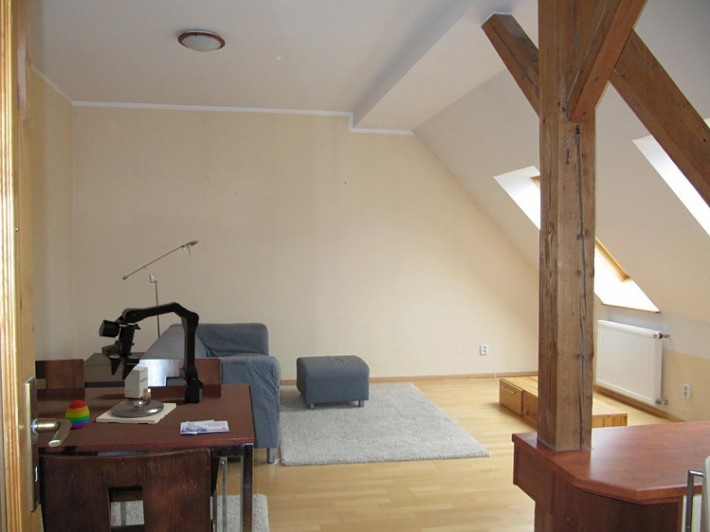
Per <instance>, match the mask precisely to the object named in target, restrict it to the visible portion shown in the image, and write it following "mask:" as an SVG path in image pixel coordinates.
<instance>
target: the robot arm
mask: <svg viewBox="0 0 710 532" xmlns="http://www.w3.org/2000/svg"><path fill="white" fill-rule="evenodd" d="M171 313H174V314H175V315H176V316H178V317H179V318H180V322H181V327H182V329H183V333H184V334H183V337H184V338H183V339H184V340H183V345H184V346H183V347H184V348H183V350H184V353H183V355H184V356H183V358H184V359H183V365H182V367H179V371H178V372H179V375H178V378H180V381H181V382H182V383H184V384H183V385H184V386H185V389H184V391H183V393H184V394H183V395H184V397H183V398H184V399H183V400H184V401H183V402H184V403H187V404H188V403H189V404H199V403H200V402H201V401H203V399H204V398H203V397H202V395H203V394H202V391H203V388H204V382H202V381H201V380H200V379H199V373H198V369H197V366H196V331H197V329H198V326H199V322H200V316H199V313H197V312H195V311H192V310H189V309H187V308H186V307H184V306H183V305H181V304H180V303H178V302H176V301H171V302H169V303H163V304H158V305H154V306H149V307H128V308H125V309H123V311H122V312H121V315H120V316H119V317H117V318H116V319H115V320H108V319H103V320H102V322H101V324H100V326H99V328H98V329H99V330H98V337H103V338H110V339H111V338H112V339H115V338H116V337H118V339H116V340H115V341H114V343H113V344H109V345H105V346H102V347H100V348H101V355H102V356H104V357H106V359H107V360H108V361H109V363H110V364H109V365H110V374H111V376H115V374H116V373H117V370H118V369H119V366H120V365H121V366H122V371H121V380H122V381H125V379H126V377H127V376H128V375H129V373H130V372H131V371H132V370H133V368H134V367H135V366H138V365H139V364H140V361H141V359H140V357H139V356H136V355H134V354H133V352H131V351H132V347H134V346H135V342H134V338H135V332H136V331H137V330H138V331H141V329H142V328H141V327H140V325H139V324H138V323H140V322H141V321H144V320H145V319H147V318H151V317H156V316H161V315H165V314H171Z"/></svg>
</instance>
